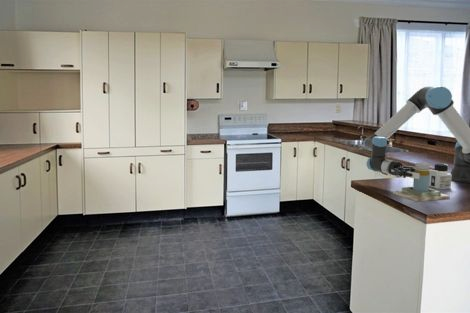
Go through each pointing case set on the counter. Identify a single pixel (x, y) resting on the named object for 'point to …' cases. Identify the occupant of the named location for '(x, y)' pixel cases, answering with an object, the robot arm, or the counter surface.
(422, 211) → the counter surface
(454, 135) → the robot arm
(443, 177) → the container
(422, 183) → the bottle
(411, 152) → the counter surface
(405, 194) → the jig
